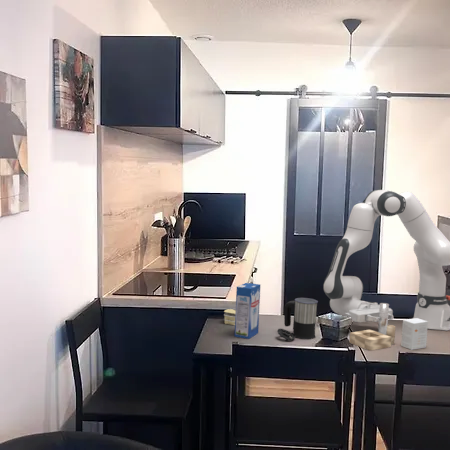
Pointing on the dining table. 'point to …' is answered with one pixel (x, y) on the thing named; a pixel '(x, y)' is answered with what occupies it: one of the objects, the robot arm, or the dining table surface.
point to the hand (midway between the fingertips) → (385, 318)
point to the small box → (414, 333)
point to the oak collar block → (370, 340)
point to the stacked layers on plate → (230, 316)
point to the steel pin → (383, 318)
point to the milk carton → (247, 310)
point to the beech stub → (391, 333)
